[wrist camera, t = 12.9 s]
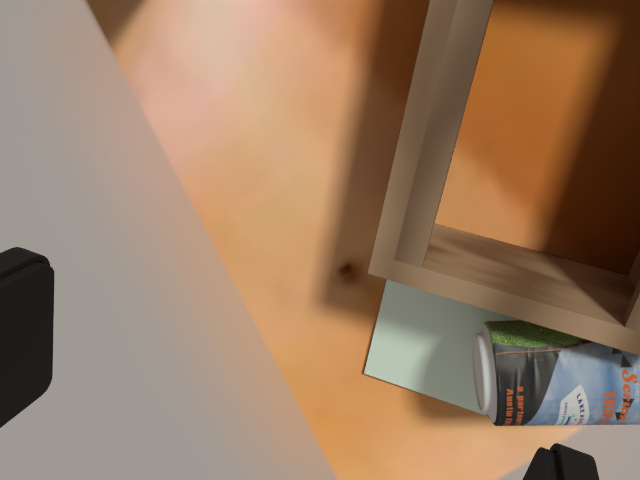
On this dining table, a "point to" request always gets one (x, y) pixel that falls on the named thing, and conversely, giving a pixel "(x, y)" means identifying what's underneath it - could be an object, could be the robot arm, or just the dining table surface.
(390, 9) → the dining table surface
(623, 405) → the beverage can
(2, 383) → the robot arm
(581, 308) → the box
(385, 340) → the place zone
